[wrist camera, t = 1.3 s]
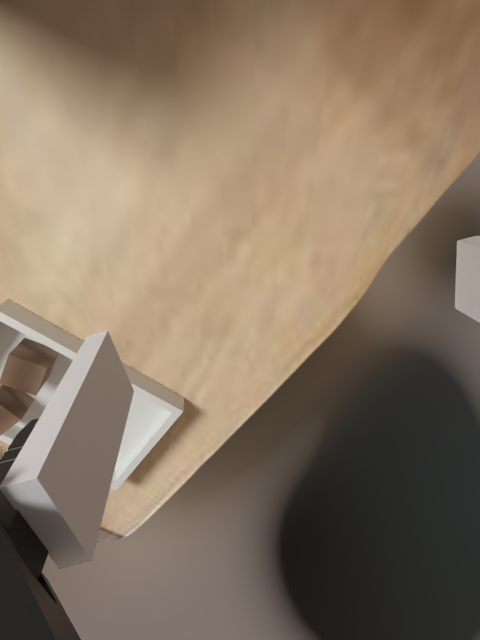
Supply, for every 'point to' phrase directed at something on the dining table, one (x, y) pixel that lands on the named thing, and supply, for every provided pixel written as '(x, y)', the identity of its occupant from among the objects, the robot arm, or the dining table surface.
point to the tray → (18, 323)
